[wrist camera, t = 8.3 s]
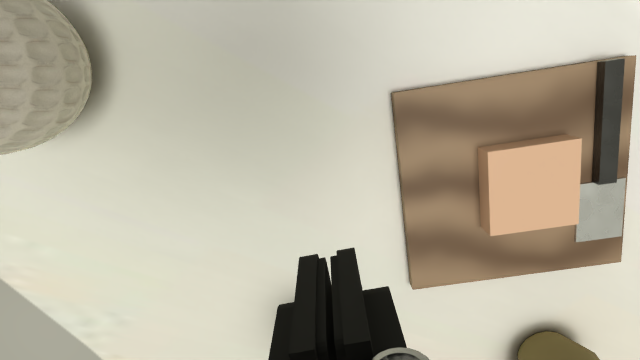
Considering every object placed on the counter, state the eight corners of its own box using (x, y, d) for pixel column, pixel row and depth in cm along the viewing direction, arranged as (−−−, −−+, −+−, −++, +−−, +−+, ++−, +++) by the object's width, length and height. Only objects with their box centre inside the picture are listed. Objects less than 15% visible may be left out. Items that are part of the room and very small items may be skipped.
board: (390, 92, 35) (393, 93, 34) (625, 55, 34) (636, 55, 33) (410, 283, 40) (412, 289, 39) (612, 256, 39) (620, 261, 38)
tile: (487, 152, 33) (581, 138, 32) (477, 147, 35) (565, 134, 35) (490, 236, 35) (578, 224, 35) (480, 226, 37) (563, 215, 37)
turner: (580, 64, 33) (588, 63, 32) (632, 55, 33) (642, 55, 32) (574, 241, 38) (581, 245, 37) (619, 235, 37) (627, 239, 36)
